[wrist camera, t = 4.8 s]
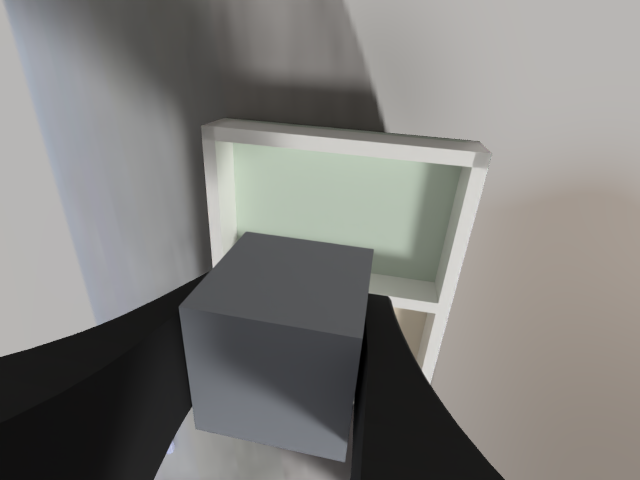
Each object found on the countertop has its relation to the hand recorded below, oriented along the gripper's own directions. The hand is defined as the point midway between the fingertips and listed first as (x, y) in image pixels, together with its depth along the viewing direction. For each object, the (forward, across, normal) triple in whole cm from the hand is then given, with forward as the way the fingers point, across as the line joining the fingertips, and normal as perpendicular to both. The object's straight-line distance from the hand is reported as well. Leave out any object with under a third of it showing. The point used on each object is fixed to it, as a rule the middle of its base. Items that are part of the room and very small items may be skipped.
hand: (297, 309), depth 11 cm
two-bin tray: (+9, 0, +4) cm, 10 cm away
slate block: (+1, 0, 0) cm, 1 cm away
